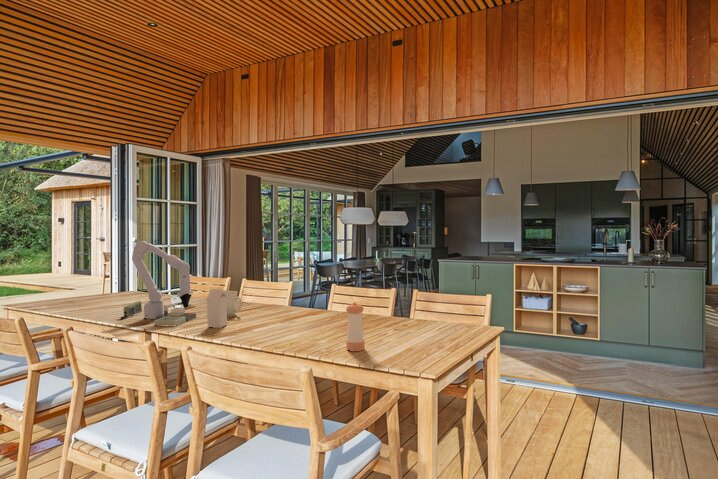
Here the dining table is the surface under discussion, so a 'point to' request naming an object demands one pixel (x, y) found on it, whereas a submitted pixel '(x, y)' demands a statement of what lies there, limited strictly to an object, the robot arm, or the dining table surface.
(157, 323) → the tray
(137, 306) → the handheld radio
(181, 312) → the plug
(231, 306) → the pitcher
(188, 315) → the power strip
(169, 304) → the clip
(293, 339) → the dining table surface
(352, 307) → the pepper shaker
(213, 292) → the milk carton
